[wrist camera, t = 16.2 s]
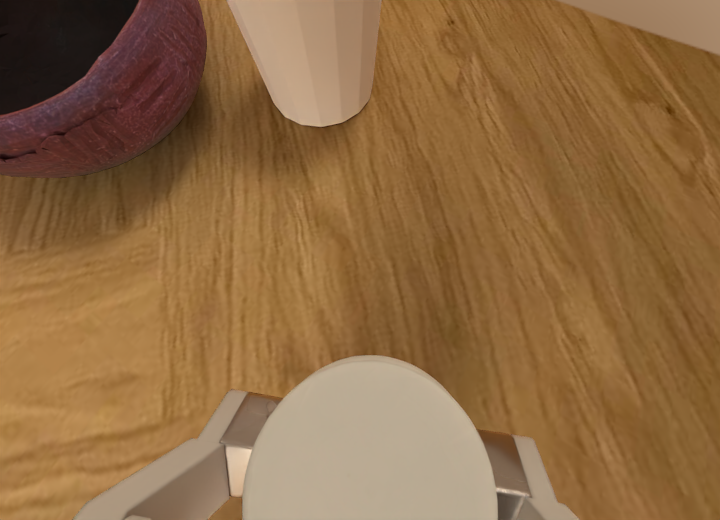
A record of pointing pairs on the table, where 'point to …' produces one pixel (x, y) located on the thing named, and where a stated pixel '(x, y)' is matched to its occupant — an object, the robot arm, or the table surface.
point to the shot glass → (313, 54)
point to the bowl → (93, 81)
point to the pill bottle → (369, 450)
